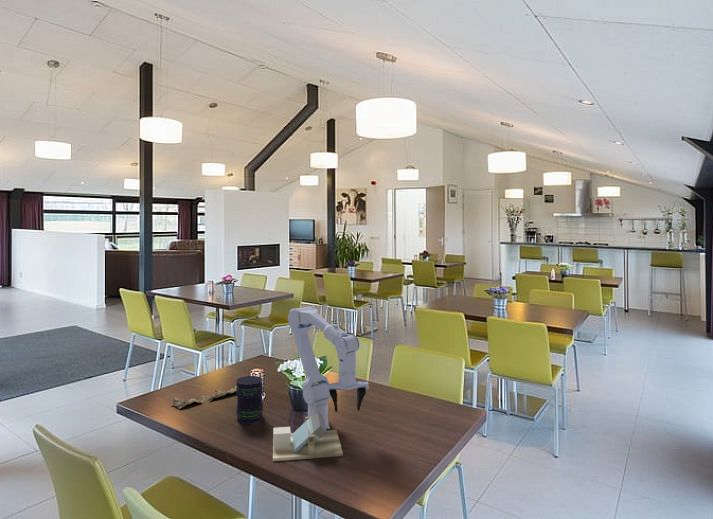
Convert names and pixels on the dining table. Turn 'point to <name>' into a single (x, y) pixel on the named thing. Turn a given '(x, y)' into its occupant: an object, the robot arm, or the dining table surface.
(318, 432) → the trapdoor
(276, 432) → the limestone block
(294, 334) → the robot arm
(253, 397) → the storage jar
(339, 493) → the dining table surface
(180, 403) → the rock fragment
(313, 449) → the beige slab
